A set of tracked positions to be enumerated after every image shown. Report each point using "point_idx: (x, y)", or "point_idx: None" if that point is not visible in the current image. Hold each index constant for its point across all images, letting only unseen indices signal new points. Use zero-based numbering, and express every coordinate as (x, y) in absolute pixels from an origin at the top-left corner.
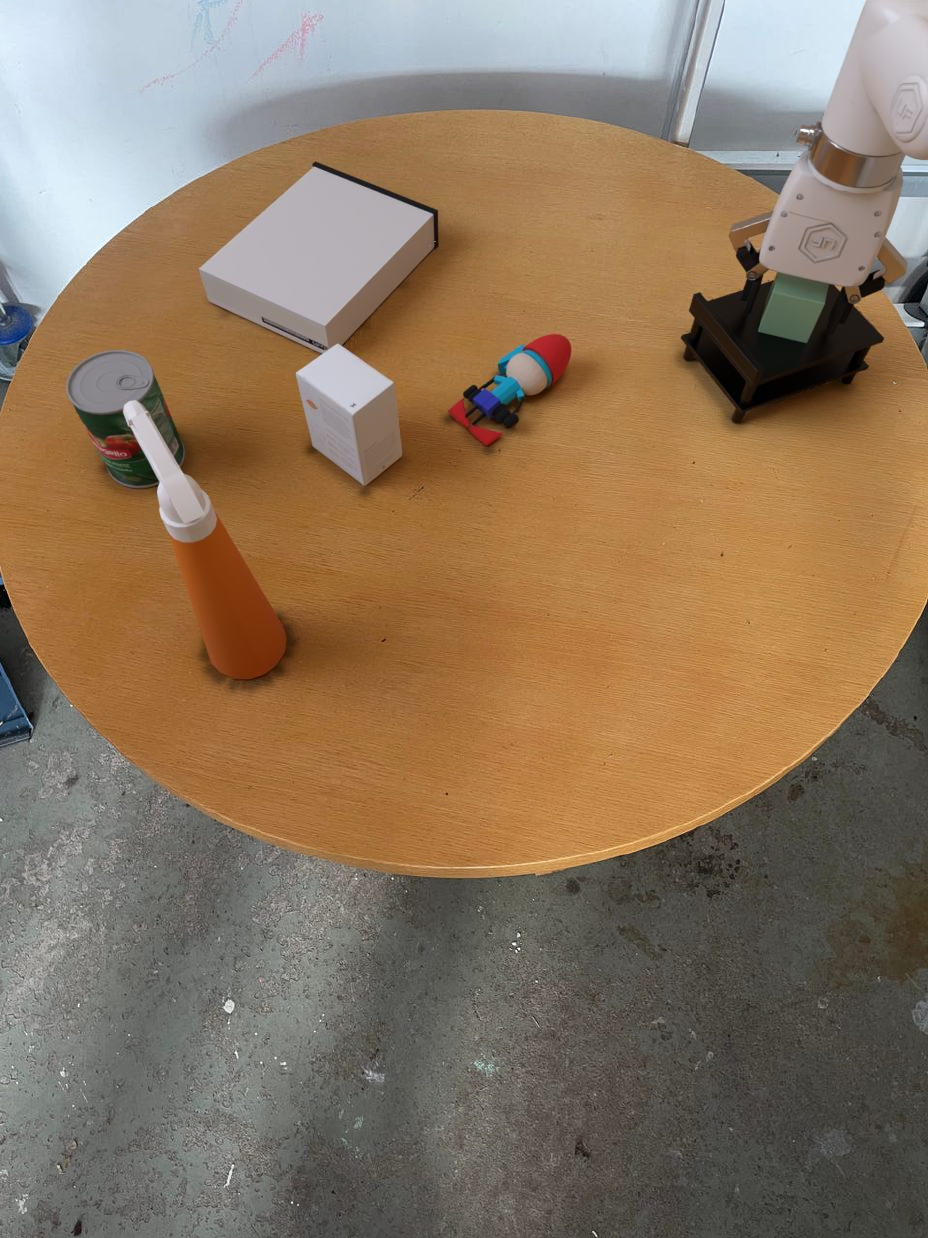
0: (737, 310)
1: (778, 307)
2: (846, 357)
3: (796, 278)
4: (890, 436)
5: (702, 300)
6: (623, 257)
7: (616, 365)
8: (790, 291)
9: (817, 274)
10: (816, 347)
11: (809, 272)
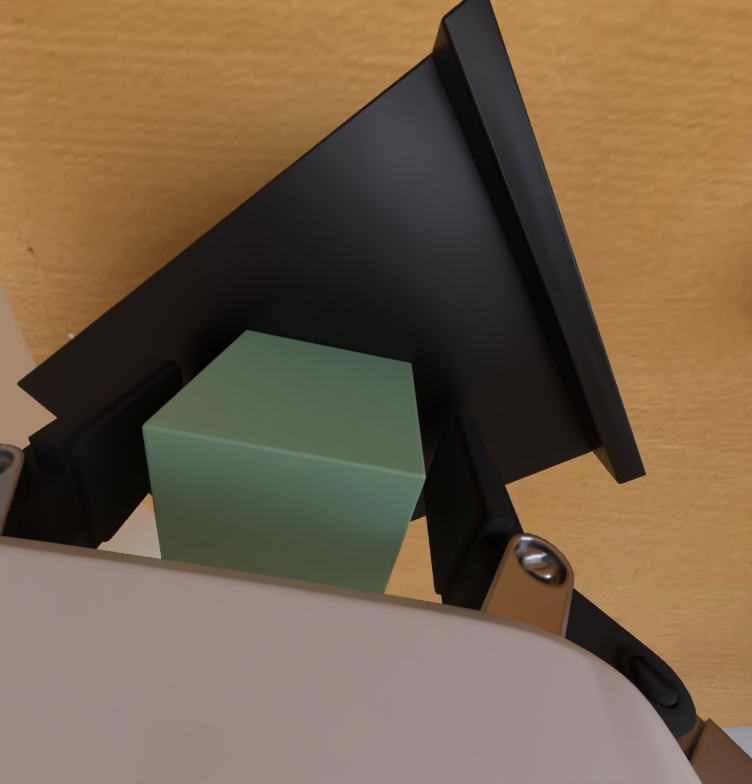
0: None
1: (374, 417)
2: None
3: (308, 557)
4: (18, 149)
5: (623, 451)
6: (585, 563)
7: (698, 310)
8: (335, 487)
9: (116, 637)
10: (211, 314)
11: (203, 652)
